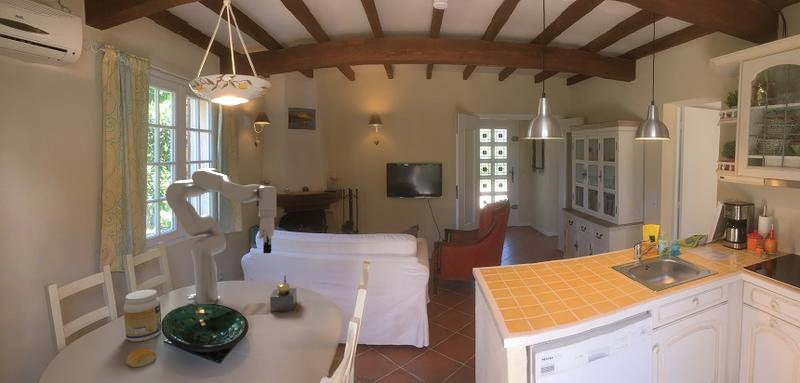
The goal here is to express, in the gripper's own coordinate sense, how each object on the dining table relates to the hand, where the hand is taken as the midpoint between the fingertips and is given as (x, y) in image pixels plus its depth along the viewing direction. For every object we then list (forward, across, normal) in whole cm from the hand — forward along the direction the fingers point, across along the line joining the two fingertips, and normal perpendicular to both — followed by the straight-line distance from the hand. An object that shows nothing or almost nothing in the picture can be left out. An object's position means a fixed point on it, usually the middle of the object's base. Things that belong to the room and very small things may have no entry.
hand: (267, 252), depth 180 cm
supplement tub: (+28, +22, -42) cm, 55 cm away
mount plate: (+26, +5, +3) cm, 26 cm away
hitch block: (+24, +4, +8) cm, 26 cm away
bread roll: (+27, +43, -33) cm, 61 cm away
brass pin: (+23, +4, +8) cm, 25 cm away
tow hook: (+26, -10, +8) cm, 29 cm away
